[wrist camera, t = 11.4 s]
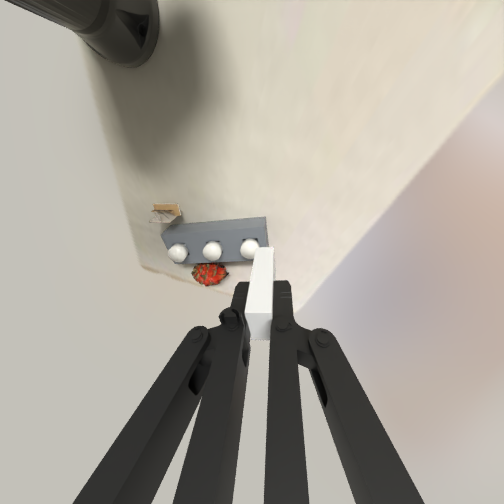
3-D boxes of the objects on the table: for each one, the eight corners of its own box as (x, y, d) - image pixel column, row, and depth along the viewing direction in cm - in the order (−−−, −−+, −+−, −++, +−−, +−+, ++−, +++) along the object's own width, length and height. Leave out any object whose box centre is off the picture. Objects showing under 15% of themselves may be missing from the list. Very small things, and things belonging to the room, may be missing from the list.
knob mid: (210, 231, 52) (200, 246, 45) (225, 230, 51) (217, 245, 44) (214, 245, 54) (205, 261, 48) (228, 244, 53) (222, 260, 47)
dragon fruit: (195, 259, 62) (230, 259, 62) (195, 284, 62) (230, 284, 62) (187, 260, 53) (227, 260, 54) (187, 288, 53) (227, 288, 54)
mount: (171, 225, 53) (160, 235, 48) (265, 216, 48) (264, 226, 43) (183, 252, 59) (174, 264, 54) (268, 247, 54) (268, 259, 49)
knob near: (243, 228, 50) (238, 244, 43) (260, 227, 49) (257, 243, 43) (246, 242, 52) (242, 259, 46) (262, 241, 52) (259, 258, 45)
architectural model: (159, 199, 49) (143, 209, 43) (183, 199, 48) (170, 209, 42) (163, 211, 51) (148, 222, 45) (186, 211, 50) (174, 223, 44)
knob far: (178, 234, 53) (164, 248, 47) (192, 232, 53) (180, 247, 46) (184, 246, 56) (171, 262, 49) (197, 246, 55) (187, 262, 49)
